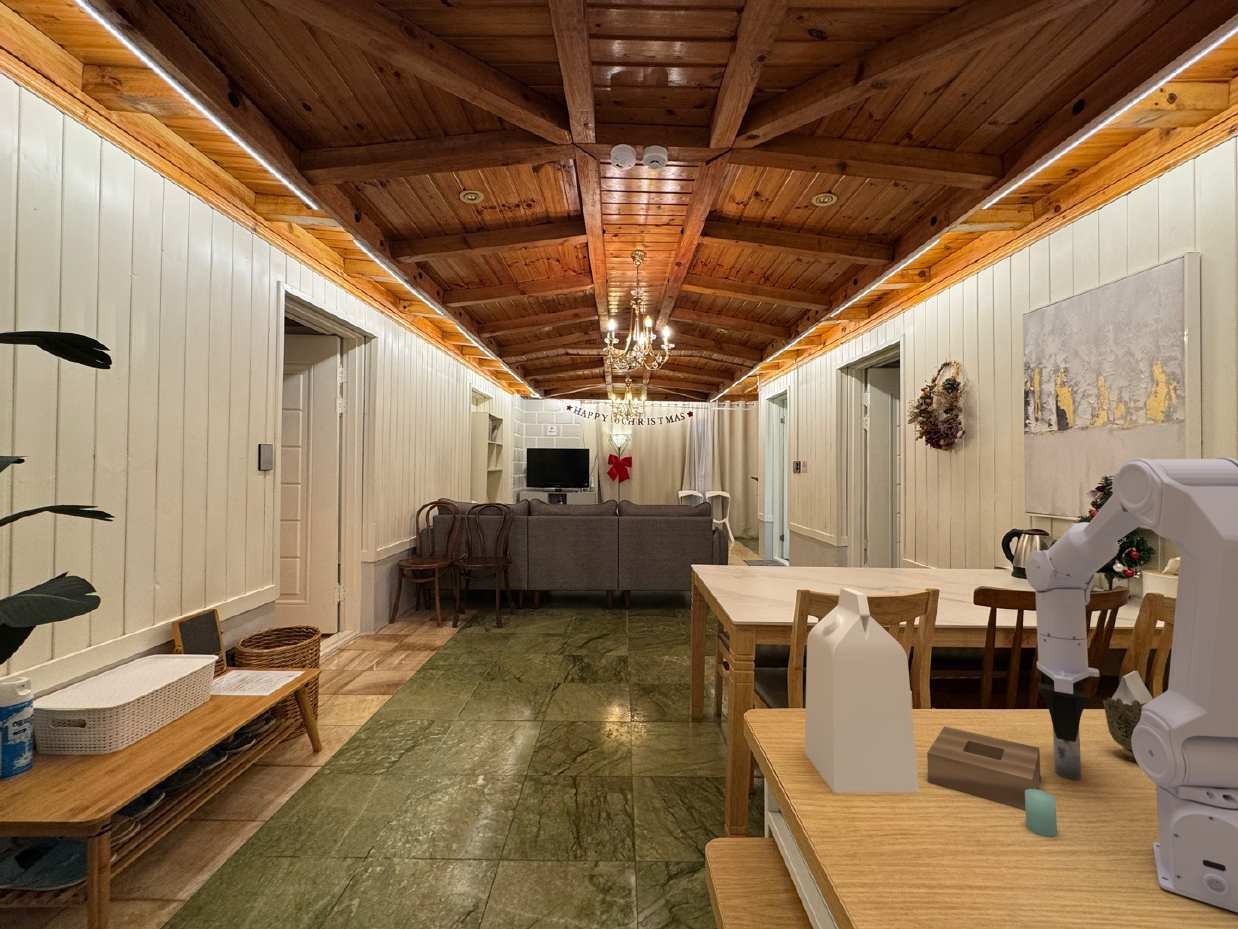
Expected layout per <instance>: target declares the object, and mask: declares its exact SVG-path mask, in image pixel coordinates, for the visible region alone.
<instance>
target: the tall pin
mask: <svg viewBox="0 0 1238 929" xmlns="http://www.w3.org/2000/svg"><path fill="white" fill-rule="evenodd" d="M1052 734H1053V735H1052V736H1053V757H1054V758H1053V759H1054V761H1053V762H1054V774H1055V773H1056V774H1057V775H1056V774H1055V775H1056V776H1058V777H1060V778H1063V779H1066V780H1070V781H1081V780H1082V764H1081V763H1082V761H1081V760H1082V759H1081V740H1080V737H1081V736H1080V729H1079V730H1078V735H1077V739H1076V741H1075V742H1072V741H1067V740H1062V739H1058V738H1057V737H1056V735H1055V732H1054V728H1053V727H1052Z"/></svg>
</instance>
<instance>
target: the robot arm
mask: <svg viewBox="0 0 1238 929" xmlns="http://www.w3.org/2000/svg"><path fill="white" fill-rule="evenodd" d="M1142 524H1144V526H1146V527H1147V528H1148V529H1150V530H1152V532H1154V533H1155V534H1156V535H1158V536H1159V537H1161V538H1165V539H1167V540H1170V541H1171V542H1173V544H1174V545H1175V546H1176V547H1177V548H1178V549H1179V551H1180V554H1179V566H1178V567H1179V568H1178V577H1177V588H1176V598H1175V599H1176V600H1175V610H1174V619H1173V620H1174V621H1173V632H1172V642H1171V652H1170V665H1169V675H1168V686H1167V690H1166V691H1164V692H1163V693H1161V694H1160V695H1158V696H1156V697H1155V698H1153V700H1151V701H1149V702H1148V703H1146V704H1145V705H1143V706H1142V711H1141V718H1140V721H1139V723H1138V724H1137V725H1136V727H1135V728H1134V731H1133V734H1132V738H1131V745H1132V750H1133V754H1134V757H1135V759H1136V761H1137V762H1136V763H1137V764H1138V766H1139V769H1140V770H1142V772H1143V773H1144V774H1145V775H1146V777H1147V778H1148V779H1149V780H1150V781H1151V782H1153V783H1155V789H1156V791H1155V792H1156V805H1157V806H1156V807H1157V809H1156V810H1157V826H1158V841H1153V842H1152V849H1153V856H1154V861H1155V868H1156V874H1157V878H1158V883H1159V884H1158V885H1159V886H1160V888H1162V889H1164V890H1165V891H1169V892H1171V893H1175V894H1179V895H1181V896H1184V897H1188V898H1191V899H1194V900H1197V901H1200V902H1204V903H1206V904H1209V905H1212V906H1215V907H1219V908H1222V909H1225V910H1229V911H1232V912H1234V913H1238V459H1236V458H1233V457H1215V458H1181V459H1180V458H1178V459H1177V458H1167V459H1165V458H1164V459H1163V458H1162V459H1161V458H1160V459H1159V458H1158V459H1155V458H1154V459H1152V458H1151V459H1150V458H1149V459H1148V458H1143V457H1139V458H1138V457H1137V458H1132V459H1130V460H1128V461H1126V462H1125V463H1124V464H1123V465H1122V466H1121V467H1120V469H1119V471H1118V472H1116V473H1115V474H1114V475H1113V476H1112V495H1110V497H1109V498H1108V500H1107V501H1106V502H1105V503H1104V504H1103V506H1101V508H1100V509H1099V510H1098V511H1097V513H1096V514H1095V515H1094V517H1093V518H1092V519H1091V520H1090V522H1086V521H1085V522H1083V521H1082V522H1077V523H1071V525H1069V526H1068V530H1067V531H1065V533H1063V535H1061V537H1060V538H1058V540H1056V541H1055V543H1054V544H1052V546H1051V547H1049V548H1048V549H1043V550H1032V551H1030V553H1029V555H1028V556H1027V558H1026V561H1025V566H1024V568H1025V569H1024V570H1025V575H1026V576H1025V577H1026V579H1027V582H1028V584H1029V585H1030V587H1031V588H1032V589H1034V590H1035V592H1034V593H1035V609H1036V612H1035V613H1036V633H1037V636H1036V638H1037V661H1036V668H1037V669H1038V670H1039V673H1040V675H1041V677H1042V679H1043V680H1044V682H1045V683H1040V682H1039V683H1038V690H1039V693H1040V695H1041V696H1042V698H1043V699H1044V700H1043V701H1045V703H1046V706H1047V708H1048V712H1049V715H1050V720H1051V723H1052V729H1053V728H1054V732H1055V735H1056V737H1057V738H1058V739H1062V740H1067V741H1072V742H1075V741H1076V739H1077V735H1078V730H1079V731H1080V724H1081V723H1080V722H1081V717H1082V714H1083V711H1084V710H1085V708H1086V706H1087V704H1088V703H1089V701H1090V699H1091V693H1089V692H1082V690H1083V689H1084V687H1085V684H1086V683H1087V682H1088V677H1095V678H1097V677H1100V671H1099V669H1098V668H1094V667H1089V661H1088V660H1089V657H1088V656H1089V655H1088V636H1087V633H1088V632H1087V616H1086V606H1087V605H1089V603H1090V602H1091V591H1092V589H1093V587H1094V585H1095V582H1096V580H1095V579H1096V574H1095V573H1096V572H1098V571H1099V570H1100V569H1101V568H1103V567H1104V566H1105V565H1106V564H1108V562H1110V561H1111V560H1112V559H1114V558H1115V557H1116V556H1117V555H1118V553H1119V550H1120V546H1119V542H1118V541H1119V540H1121V539H1122V538H1124V537H1125V536H1127V535H1128V534H1129V533H1131V532H1133V531H1134V530H1136V529H1137V528H1138V527H1140V526H1141V525H1142Z"/></svg>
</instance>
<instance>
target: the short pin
mask: <svg viewBox="0 0 1238 929" xmlns="http://www.w3.org/2000/svg"><path fill="white" fill-rule="evenodd" d="M1025 809H1026V810H1025V826H1026V828H1027V829H1028V830H1029V831H1030V832H1032V833H1034V834H1035V835H1039V836H1041V837H1047V838H1054V837H1057V836H1058V822H1057V820H1058V819H1057V799H1056V797H1055V795H1053V794H1051V793H1049V792H1046V791H1044V790H1041V789H1038V790H1037V789H1027V790H1025Z"/></svg>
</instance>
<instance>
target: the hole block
mask: <svg viewBox="0 0 1238 929" xmlns="http://www.w3.org/2000/svg"><path fill="white" fill-rule="evenodd" d="M1040 755H1041V754H1040V747H1038V746H1033V745H1029V744H1025V743H1021V742H1020V743H1019V742H1016V741H1011V740H1006V739H1002V738H998V737H993V736H989V735H984V734H980V733H976V732H971V731H967V730H964V729H963V730H961V729H958V728H953V727H949V726H945V725H944V726H943V728H942V729H941V731H940V732H939V733H938V736H937V737H936V739H935V740H934V742H933V743H932V745H931V746H930V747H929V749H928V751H927V752H926V757H927V782H928V783H931V784H934V785H938V786H941V787H943V788H944V787H945V788H947V789H948V788H949V789H951V790H955V791H958V792H962V793H966V794H969V795H972V796H977V797H980V798H984V799H987V800H990V801H994V802H997V803H1000V804H1003V805H1008V806H1011V807H1014V808H1018V809H1021V810H1024V811H1026V809H1025V790H1027V789H1037V790H1039V786H1040V781H1041V759H1040V758H1041V757H1040Z"/></svg>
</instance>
